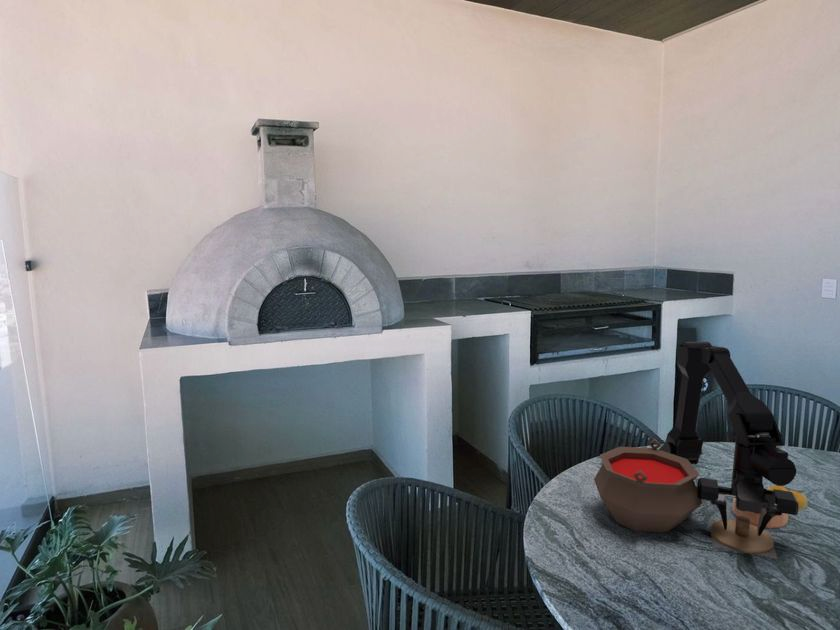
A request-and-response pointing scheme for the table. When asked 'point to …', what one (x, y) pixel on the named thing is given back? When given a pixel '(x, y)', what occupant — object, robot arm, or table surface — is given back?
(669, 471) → the brown soup pot
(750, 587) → the table surface
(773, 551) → the mat
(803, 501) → the bread roll
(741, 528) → the lid
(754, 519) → the bowl
